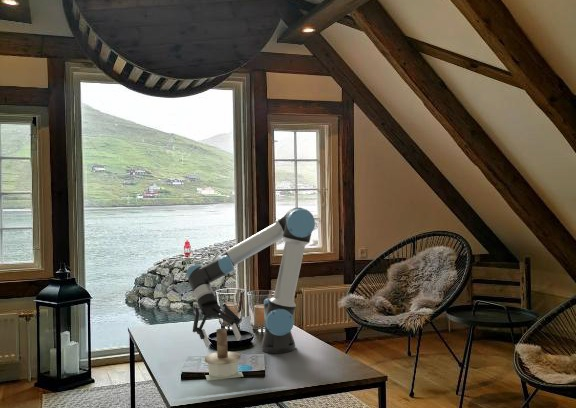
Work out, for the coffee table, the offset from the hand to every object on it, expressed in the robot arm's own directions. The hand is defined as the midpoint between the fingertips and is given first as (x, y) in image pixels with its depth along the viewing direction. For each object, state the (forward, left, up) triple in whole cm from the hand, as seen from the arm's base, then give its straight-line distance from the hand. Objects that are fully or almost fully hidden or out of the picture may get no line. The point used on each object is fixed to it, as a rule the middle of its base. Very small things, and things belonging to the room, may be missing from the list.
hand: (223, 342), depth 222 cm
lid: (+1, -2, -7) cm, 7 cm away
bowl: (+1, -2, -13) cm, 13 cm away
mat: (+1, -2, -13) cm, 13 cm away
